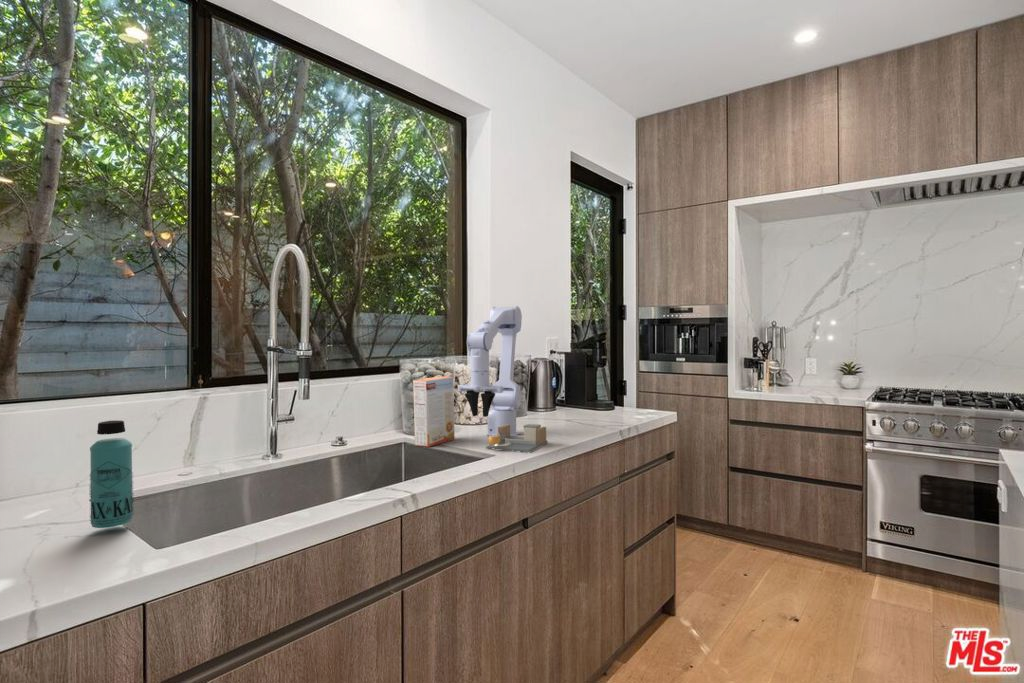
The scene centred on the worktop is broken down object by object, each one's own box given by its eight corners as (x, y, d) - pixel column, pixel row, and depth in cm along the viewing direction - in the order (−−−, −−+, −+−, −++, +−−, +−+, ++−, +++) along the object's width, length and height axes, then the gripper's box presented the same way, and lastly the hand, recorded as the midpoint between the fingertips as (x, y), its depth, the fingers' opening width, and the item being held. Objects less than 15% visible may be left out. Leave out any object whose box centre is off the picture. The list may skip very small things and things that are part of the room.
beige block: (523, 441, 173) (523, 425, 173) (528, 439, 177) (528, 423, 177) (536, 442, 171) (536, 426, 171) (541, 440, 175) (541, 424, 175)
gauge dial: (488, 445, 169) (487, 434, 169) (496, 442, 175) (496, 431, 175) (505, 447, 167) (505, 435, 167) (514, 443, 172) (513, 432, 172)
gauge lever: (496, 441, 170) (496, 433, 170) (501, 441, 169) (501, 433, 169) (487, 444, 165) (487, 436, 165) (493, 445, 164) (493, 437, 164)
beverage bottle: (87, 530, 101) (84, 421, 101) (130, 521, 106) (128, 417, 106) (93, 539, 97) (90, 425, 96) (138, 530, 101) (136, 420, 101)
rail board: (486, 448, 169) (486, 431, 168) (507, 439, 182) (507, 423, 182) (529, 452, 163) (529, 434, 163) (547, 443, 176) (547, 426, 176)
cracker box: (440, 438, 187) (440, 375, 186) (455, 439, 183) (454, 376, 183) (413, 445, 175) (412, 379, 174) (428, 447, 171) (427, 379, 171)
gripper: (452, 371, 168) (453, 416, 168) (495, 372, 162) (496, 419, 163) (463, 370, 175) (464, 413, 175) (505, 371, 169) (506, 415, 169)
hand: (480, 416), depth 169 cm, fingers open, 3 cm apart
